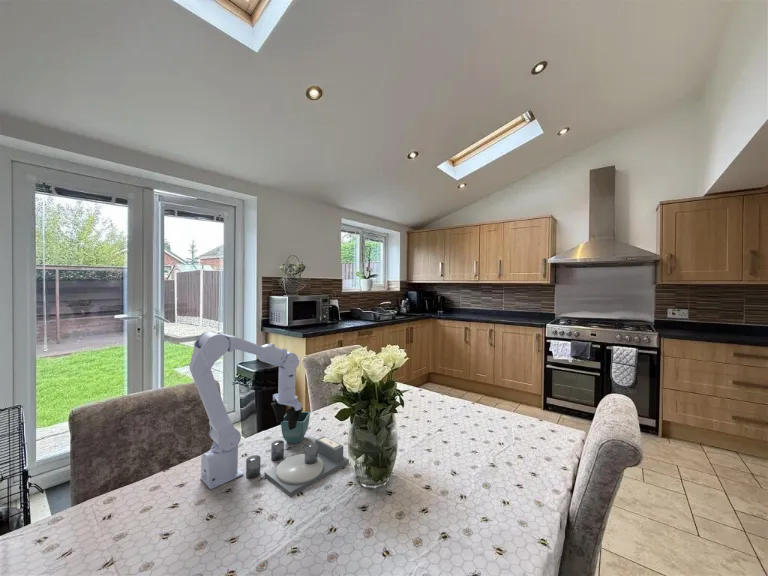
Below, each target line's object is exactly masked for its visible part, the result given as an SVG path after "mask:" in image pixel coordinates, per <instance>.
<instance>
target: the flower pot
mask: <svg viewBox="0 0 768 576" xmlns="http://www.w3.org/2000/svg"><path fill="white" fill-rule="evenodd" d="M310 418H311V412H309V411H302V412H301V413H300V415H299V418H298V421H297V424H296V428H295V429H292V430H289V425H288V417H287V414H286V413H285V414H284V420H283V422H280V426H281V427H280V428H281V435H282V438H283V439H284V442H287V443H292V444H299V443H301V442H302V441H303V439H304V437H305V435H306V433H307V430H308V427H309V424H310Z"/></svg>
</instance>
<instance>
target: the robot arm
mask: <svg viewBox="0 0 768 576" xmlns="http://www.w3.org/2000/svg"><path fill="white" fill-rule="evenodd" d="M236 350H237V351H241V352H245V353H248V354H251V355H255V356H257V358H258V360H259V361H260V362H263V363H266V364H270V365H273V366H275V367H278V380H277V381H278V383H277V384H278V387H277V389H278V390H277V392H278V393H274V394H272V401H273V402H271V403H270V406H271V408H272V409H273V412H274V416H275V420H276V423H277V424H281V422H283V420H284V416H285V415H286V414H287V417H288V425H289V430H292V429H295V428H296V424H297V421H298V418H299V415H300V413H301V412H303V411H304V409H303V407H302V403H301V402H300V401H299V400H298V398H299V397H298V395H296V385H297V384H296V383H297V381H296V380H297V379H296V377H297V368H298V367H299V364H300V359H299V357H298V355H297V354H296V353H294V352H292V351H288V349H286V348H279V347H277V346H276V344H274V343H266V344H263V345H258V344H256V343H254V342H251V341H249V340H246V339H243V338H240V337H237V336H235V335H231V334H226V333H222V332H221V333H220V332H219V333H217V332H216V331H213V330H207V331H204V332H203V333H201V334H200V335H199V336H198V338H197V339H196V340H195V342H194V343H193V351H192V355H191V358H190V362H189V365H188V366H189V367H188V368H189V371H190V374H191V376H192V379H193V380H194V384H195V386H196V389H197V392H198V394H199V397H200V400H201V402H202V405H203V407H204V410H205V412H206V415H207V418H208V420H209V421H208V425H209V437H210V438H211V439H212V440H213V442H212V445H211V447H210V449H209V450H207V451H206V452H204V453H202V455H201V463H200V464H201V465H200V467H201V468H200V469H201V470H200V474H201V475H200V478H199V479H200V480H201V481H202V482H203V483H204V485H206V486H207V487H208V488H209V489H210V490H213V489H215V488H217V487H219V486H222V485H224V484H226V483H228V482H231V481H233V480H235V479H237V478H239V477H241V476H244V473H243V471H242V470H241V469H239V467H238V465H239V464H238V463H239V461H238V460H239V459H238V458H239V444H240V442H241V439H242V435H241V432H240V431H239V430H238V429H236V428H235V426H234V423H233V422H232V420H231V418H230V417H229V414H228V412H227V409H226V407H225V406H226V405H225V404H224V403H225V402H224V401H223V399H222V396H221V393H220V390H219V387H218V385H217V383H216V379H215V377H214V374H213V371H212V368H213V366H214V365H215V363H216V362H217V361H218V360H219V359H220V358H221V357H222V356H224V355H225V354H226V353H227V352H228V353H232V352H234V351H236ZM286 406H287V407H290V408H288V409H286Z"/></svg>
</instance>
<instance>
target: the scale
mask: <svg viewBox="0 0 768 576" xmlns="http://www.w3.org/2000/svg"><path fill="white" fill-rule="evenodd" d="M315 443H317V444H318V452H317V462H316V463H315V464H311V465H308V464H306V463H305V452H304V453H301V454H295V455H292V456H289V457H287V458H285V459H282V461H280V463H279V464H278V465H277V466H274V467H272V468H270V469H268V470H266V471H264V472H263V473H264V475H263V476H264V477H265V478H266V479H268V480H269V481H270V482H271V483H272V484H274V485H275V486H276V487H277V488H279V489H280V490H281V491H283V492H284V493H285V494H286V495H288V497H292V496H294V495H296V494H297V493H300V492H301V491H303V490H305V489H306V488H308V487H310V486H311V485H313V484H315V483H316V482H319V481H320V480H322V479H324V478H325V477H327V476H329V475H330V474H333V473H334V472H336V471H338V470H339V469H341V468H343V467H344V466H346V465H348V464H349V463H350V459H349V458H347V457H345V456H344V445H343V444H340V443H338V442H337V441H335V440H333V439H331V438H328V437H327V436H325V435H323V436H322V437H319V438H317V439H316V440H315Z"/></svg>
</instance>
